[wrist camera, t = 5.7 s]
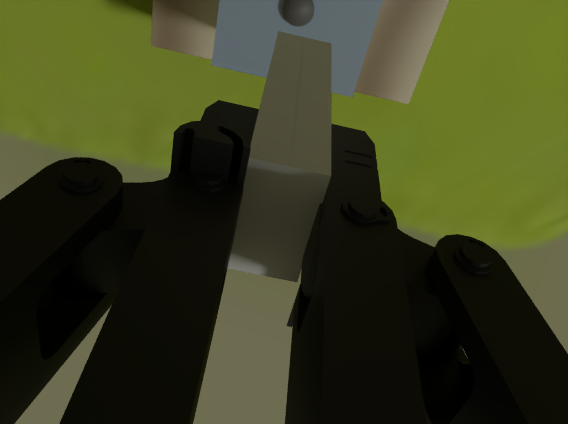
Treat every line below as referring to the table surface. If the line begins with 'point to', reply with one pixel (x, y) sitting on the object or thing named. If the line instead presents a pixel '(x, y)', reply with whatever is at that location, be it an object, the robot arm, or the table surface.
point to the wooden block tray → (378, 60)
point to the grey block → (298, 21)
